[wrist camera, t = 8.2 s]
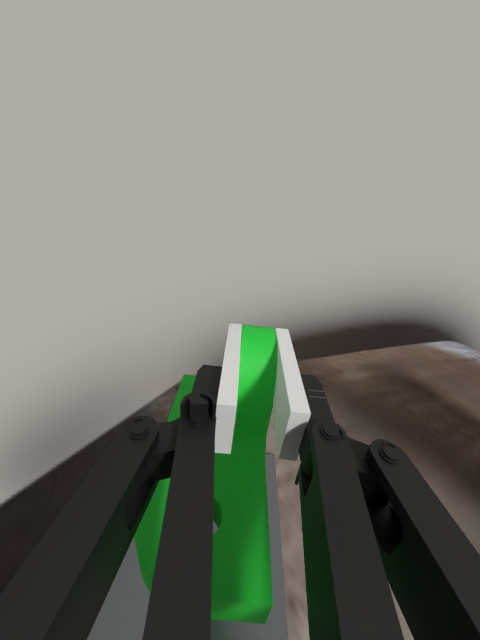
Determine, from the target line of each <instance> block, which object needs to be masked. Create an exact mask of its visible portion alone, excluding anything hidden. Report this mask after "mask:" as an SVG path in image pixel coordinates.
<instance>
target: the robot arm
mask: <svg viewBox="0 0 480 640" xmlns="http://www.w3.org/2000/svg"><path fill="white" fill-rule="evenodd" d="M275 330H276V335H277V373H276V383H275V391H274V398H273V411H274V420H275V430H276V440H277V449H278V459H284V460H294V461H296V460H297V457H298V454H300V460H301V464H300V467H299V470H298V473H297V476H296V480H295V484H296V485H298V482H299V486H300V501H301V516H302V531H303V546H304V561H305V576H306V591H307V606H308V621H309V637H310V640H404V638H403V634H402V631H401V627H400V624H399V620H398V616H397V613H396V609H395V606H394V602H393V598H392V595H391V591H390V588H389V584H390V586H391V589H392V591H393V593H394V595H395V598H396V600H397V602H398V604H399V606H400V609H401V611H402V613H403V615H404V618H405V620H406V622H407V624H408V626H409V629H410V631H411V633H412V635H413V638H414V640H480V555H479V554H478V552H477V551H476V550H475V548H474V547H473V545H472V544H471V543H470V541H469V540H468V539H467V537H466V536H465V534H464V533H463V532H462V530H461V529H460V528H459V526H458V525H457V523H456V522H455V521H454V519H453V518H452V517H451V515H450V514H449V512H448V511H447V510H446V508H445V507H444V506H443V504H442V503H441V502H440V500H439V499H438V497H437V496H436V495H435V493H434V492H433V491H432V489H431V488H430V486H429V485H428V484H427V482H426V481H425V480H424V478H423V477H422V475H421V474H420V473H419V471H418V470H417V469H416V467H415V466H414V464H413V463H412V462H411V460H410V459H409V458H408V456H407V455H406V454H405V453H404V452H403V451H402V449H401V448H399V447H398V446H396V445H395V444H393V443H391V442H389V441H386V440H381V439H378V440H374V441H373V442H372V443H371V444H370V446H369V445H367V444H364V443H361V442H359V441H356V440H354V439H351V438H349V437H348V436H347V435H346V433H345V431H344V430H343V429H342V428H341V427H340V426H339V425H338V424H336V423H335V421H334V418H333V415H332V413H331V410H330V407H329V405H328V402H327V399H326V396H325V394H324V392H323V388H322V385H321V383H320V382H319V381H318V380H317V378H316V377H315V376H312V375H303V374H300V371H299V368H298V364H297V360H296V357H295V353H294V350H293V346H292V342H291V338H290V335H289V331H288V329H279V328H275ZM241 332H242V324H233V323H230V324H229V329H228V335H227V342H226V348H225V355H224V361H223V367H220V366H210V365H203V366H202V367H201V368H200V369H199V370H198V372H197V375H196V379H195V382H194V386H193V389H192V392H191V393H190V394H187V395H186V396H185V397H184V398H183V399H182V401H181V403H180V417H179V418H177V419H175V420H173V421H169V422H165V423H159V424H158V423H157V422H156V421H155V420H154V419H153V418H151V417H148V416H140V417H136V418H133V419H131V420H129V421H127V422H126V423H125V424H124V425H123V426H122V427H121V429H120V430H119V431H118V433H117V434H116V436H115V437H114V438H113V440H112V441H111V442H110V444H109V445H108V447H107V448H106V449H105V451H104V452H103V453H102V455H101V456H100V458H99V459H98V460H97V462H96V463H95V464H94V466H93V467H92V469H91V470H90V471H89V473H88V474H87V475H86V477H85V478H84V480H83V481H82V482H81V484H80V485H79V486H78V488H77V489H76V491H75V492H74V493H73V495H72V496H71V497H70V499H69V500H68V502H67V503H66V504H65V506H64V507H63V508H62V510H61V511H60V513H59V514H58V515H57V517H56V518H55V519H54V521H53V522H52V524H51V525H50V526H49V528H48V529H47V530H46V532H45V533H44V535H43V536H42V537H41V539H40V540H39V542H38V543H37V544H36V546H35V547H34V548H33V550H32V551H31V553H30V554H29V555H28V557H27V558H26V559H25V561H24V562H23V564H22V565H21V566H20V568H19V569H18V570H17V572H16V573H15V575H14V576H13V577H12V579H11V580H10V581H9V583H8V584H7V586H6V587H5V588H4V590H3V591H2V592H1V594H0V640H87V638H88V636H89V634H90V631H91V629H92V627H93V625H94V623H95V620H96V618H97V616H98V614H99V612H100V610H101V607H102V605H103V603H104V601H105V599H106V596H107V594H108V592H109V590H110V588H111V585H112V583H113V581H114V579H115V577H116V575H117V572H118V570H119V568H120V566H121V564H122V561H123V559H124V557H125V555H126V553H127V550H128V548H129V546H130V544H131V542H132V540H133V537H134V535H135V533H136V531H137V529H138V526H139V524H140V522H141V520H142V518H143V515H144V513H145V511H146V509H147V507H148V505H149V502H150V500H151V498H152V496H153V494H154V491H155V489H156V487H157V485H158V483H159V480H164V479H168V478H170V483H169V488H168V494H167V500H166V506H165V512H164V517H163V523H162V529H161V535H160V540H159V546H158V552H157V558H156V563H155V569H154V575H153V581H152V587H151V592H150V598H149V604H148V610H147V615H146V621H145V627H144V633H143V639H142V640H211V597H212V552H213V506H214V461H215V453H224V454H231V447H232V440H233V432H234V424H235V417H236V409H237V396H238V380H239V364H240V348H241ZM388 582H389V584H388Z"/></svg>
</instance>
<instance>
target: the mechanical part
mask: <svg viewBox="0 0 480 640" xmlns="http://www.w3.org/2000/svg"><path fill="white" fill-rule="evenodd" d="M276 373H277V335H276V330H275V328H271V327H261V326H252V325H242V332H241V348H240V364H239V380H238V396H237V409H236V417H235V424H234V432H233V440H232V447H231V454H224V453H215V461H214V506H213V521H214V522H215V524H216V525H217V527H218V530H217V531H216V533H215V534H214V535H213V552H212V597H211V619H215V620H226V621H237V622H248V623H259V624H265V623H266V621H267V618H268V616H269V613H270V611H271V608H272V606H273V594H272V575H271V557H270V539H269V520H268V502H267V484H266V465H265V448H266V436H267V430H268V426H269V421H270V416H271V412H272V407H273V398H274V391H275V383H276ZM195 379H196V376H194V375H184V376H183V379H182V381H181V384H180V387H179V389H178V392H177V395H176V398H175V401H174V403H173V406H172V409H171V412H170V414H169V417H168V420H167V422H169V421H173V420H175V419H177V418H179V417H180V403H181V401H182V399H183V398H184V397H185V396H186V395H187V394H190V393H191V392H192V389H193V386H194V382H195ZM169 483H170V478H168V479H164V480H159V483H158V485H157V487H156V489H155V491H154V494H153V496H152V498H151V500H150V502H149V505H148V507H147V509H146V511H145V513H144V515H143V518H142V520H141V522H140V524H139V526H138V529H137V531H136V533H135V535H134V538H135V545H136V550H137V556H138V562H139V567H140V572H141V575H142V578H143V580H144V583H145V585H146V587H147V589H148V590H149V592H151V587H152V581H153V575H154V569H155V563H156V558H157V552H158V546H159V540H160V535H161V529H162V523H163V517H164V512H165V506H166V500H167V494H168V488H169Z"/></svg>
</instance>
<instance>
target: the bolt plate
mask: <svg viewBox="0 0 480 640" xmlns="http://www.w3.org/2000/svg"><path fill="white" fill-rule="evenodd" d="M265 465H266V484H267V502H268V520H269V539H270V557H271V575H272V594H273V606H272V608H271V611H270V613H269V616H268V618H267V621H266V623H265V624H259V623H248V622H237V621H226V620H215V619H211V640H288V632H287V618H286V605H285V591H284V578H283V565H282V551H281V538H280V525H279V511H278V498H277V484H276V471H275V458H274V454H265ZM217 530H218V527H217V525H216V524H215V522H214V521H213V535H214V534H215V533H216V531H217ZM149 598H150V592H149V590H148V589H147V587H146V585H145V583H144V580H143V578H142V575H141V572H140V567H139V562H138V556H137V550H136V545H135V538H134V537H133V540H132V542H131V544H130V546H129V548H128V550H127V553H126V555H125V557H124V559H123V561H122V564H121V566H120V568H119V570H118V572H117V575H116V577H115V579H114V581H113V583H112V585H111V588H110V590H109V592H108V594H107V596H106V599H105V601H104V603H103V605H102V607H101V610H100V612H99V614H98V616H97V618H96V620H95V623H94V625H93V627H92V629H91V631H90V634H89V636H88V638H87V640H142V639H143V633H144V627H145V621H146V615H147V610H148V604H149Z"/></svg>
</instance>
